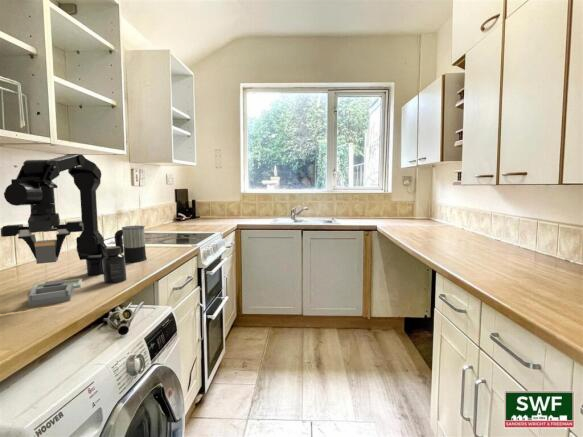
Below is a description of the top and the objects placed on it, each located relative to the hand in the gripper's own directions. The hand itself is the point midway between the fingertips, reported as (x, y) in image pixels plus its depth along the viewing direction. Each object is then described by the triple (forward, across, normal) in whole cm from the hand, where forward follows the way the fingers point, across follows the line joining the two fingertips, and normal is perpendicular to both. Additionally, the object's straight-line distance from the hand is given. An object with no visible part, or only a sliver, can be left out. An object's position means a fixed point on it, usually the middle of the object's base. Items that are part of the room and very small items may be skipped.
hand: (47, 258), depth 99 cm
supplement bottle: (+12, +17, +10) cm, 23 cm away
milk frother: (+11, +21, +41) cm, 48 cm away
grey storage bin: (+12, 0, 0) cm, 12 cm away
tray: (+12, 0, +12) cm, 17 cm away
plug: (+1, 0, 0) cm, 1 cm away
